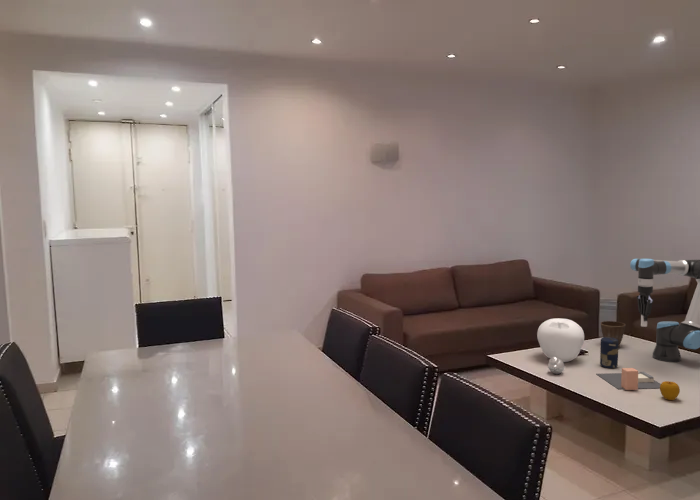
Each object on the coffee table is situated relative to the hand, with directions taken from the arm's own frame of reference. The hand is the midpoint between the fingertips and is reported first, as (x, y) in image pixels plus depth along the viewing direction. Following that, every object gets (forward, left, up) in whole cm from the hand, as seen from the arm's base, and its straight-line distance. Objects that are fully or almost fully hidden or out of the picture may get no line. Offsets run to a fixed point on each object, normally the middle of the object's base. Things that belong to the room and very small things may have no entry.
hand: (643, 326), depth 298 cm
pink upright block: (+23, +28, -26) cm, 45 cm away
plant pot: (-8, -49, -27) cm, 56 cm away
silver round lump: (+51, +1, -27) cm, 58 cm away
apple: (+11, +42, -27) cm, 51 cm away
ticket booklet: (+12, +16, -26) cm, 33 cm away
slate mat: (+16, +16, -26) cm, 35 cm away
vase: (+38, -24, -27) cm, 52 cm away
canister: (+15, -9, -27) cm, 32 cm away
